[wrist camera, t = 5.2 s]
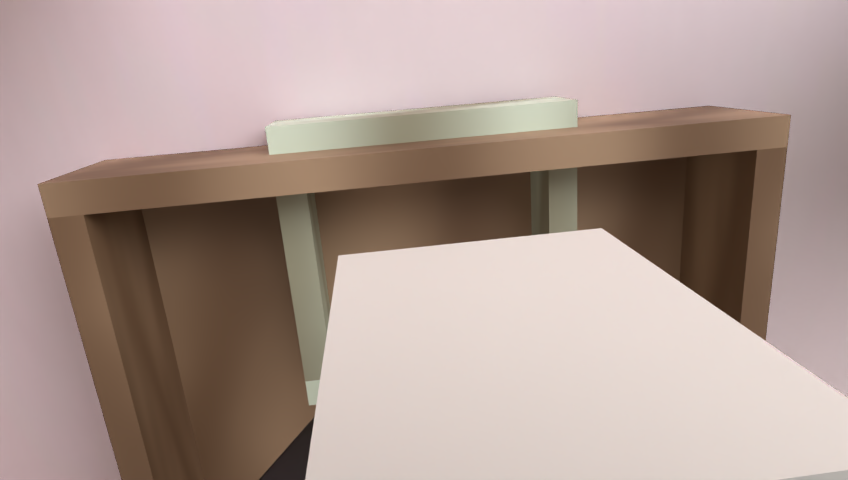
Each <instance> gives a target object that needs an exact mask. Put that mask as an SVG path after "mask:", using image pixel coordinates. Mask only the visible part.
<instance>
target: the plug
mask: <svg viewBox="0 0 848 480" xmlns="http://www.w3.org/2000/svg"><path fill="white" fill-rule="evenodd" d="M305 480H848V397H846V396H845V395H843V394H842V393H841V392H839V391H838V390H836V389H835V388H833V387H832V386H830V385H829V384H827V383H826V382H825V381H823V380H822V379H820V378H819V377H817V376H816V375H814V374H813V373H811V372H810V371H809V370H807V369H806V368H804V367H803V366H801V365H800V364H798V363H797V362H795V361H794V360H793V359H791V358H790V357H788V356H787V355H785V354H784V353H782V352H781V351H779V350H778V349H777V348H775V347H774V346H772V345H771V344H769V343H768V342H766V341H765V340H763V339H762V338H761V337H759V336H758V335H756V334H755V333H753V332H752V331H750V330H749V329H747V328H746V327H745V326H743V325H742V324H740V323H739V322H737V321H736V320H734V319H733V318H731V317H730V316H729V315H727V314H726V313H724V312H723V311H721V310H720V309H718V308H717V307H715V306H714V305H713V304H711V303H710V302H708V301H707V300H705V299H704V298H702V297H701V296H699V295H698V294H697V293H695V292H694V291H692V290H691V289H689V288H688V287H686V286H685V285H684V284H682V283H681V282H679V281H678V280H676V279H675V278H673V277H672V276H670V275H669V274H668V273H666V272H665V271H663V270H662V269H660V268H659V267H657V266H656V265H654V264H653V263H652V262H650V261H649V260H647V259H646V258H644V257H643V256H641V255H640V254H638V253H637V252H636V251H634V250H633V249H631V248H630V247H628V246H627V245H625V244H624V243H622V242H621V241H620V240H618V239H617V238H615V237H614V236H612V235H611V234H609V233H608V232H606V231H605V230H604V229H602V228H598V229H588V230H579V231H569V232H560V233H550V234H540V235H531V236H521V237H512V238H502V239H492V240H483V241H473V242H464V243H454V244H444V245H435V246H425V247H416V248H406V249H396V250H387V251H377V252H367V253H358V254H348V255H339V256H338V261H337V268H336V275H335V281H334V288H333V295H332V302H331V309H330V315H329V322H328V329H327V336H326V342H325V349H324V356H323V363H322V369H321V376H320V383H319V390H318V397H317V403H316V410H315V417H314V424H313V430H312V437H311V444H310V451H309V457H308V464H307V471H306V478H305Z"/></svg>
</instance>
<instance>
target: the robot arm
mask: <svg viewBox="0 0 848 480" xmlns="http://www.w3.org/2000/svg"><path fill="white" fill-rule="evenodd" d="M314 417H315V416H314ZM314 417H313V419H312V420H311V421H310V422H309V423H308V424H307V425H306V427H305V428H304V429H303V430H302V431H301V432H300V433H299V434H298V436H297V437H296V438H295V439H294V440H293V441H292V442H291V444H290V445H289V446H288V447H287V448H286V449H285V450H284V451H283V453H282V454H281V455H280V456H279V457H278V458H277V459H276V461H275V462H274V463H273V464H272V465H271V466H270V467H269V468H268V470H267V471H266V472H265V473H264V474H263V475H262V476H261V478H260V479H259V480H305V478H306V471H307V464H308V457H309V451H310V444H311V437H312V430H313V424H314Z"/></svg>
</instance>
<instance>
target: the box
mask: <svg viewBox="0 0 848 480" xmlns="http://www.w3.org/2000/svg"><path fill="white" fill-rule="evenodd" d="M577 115H578V100H575V99H568V98H562V97H545V98H533V99H522V100H510V101H499V102H487V103H476V104H464V105H453V106H441V107H430V108H418V109H406V110H395V111H383V112H372V113H360V114H349V115H337V116H326V117H314V118H303V119H291V120H280V121H274V122H273V123H271V124H270V125H268V126H266V127H265V131H266V137H267V143H268V146H257V147H246V148H235V149H223V150H212V151H201V152H190V153H179V154H168V155H157V156H146V157H134V158H123V159H112V160H104V161H101V162H98V163H96V164H93V165H90V166H87V167H84V168H82V169H79V170H76V171H73V172H70V173H68V174H65V175H62V176H59V177H56V178H54V179H51V180H48V181H45V182H42V183H40V184H38V188H39V191H40V195H41V198H42V202H43V205H44V209H45V212H46V216H47V219H48V223H49V226H50V230H51V233H52V237H53V240H54V244H55V247H56V251H57V254H58V258H59V261H60V265H61V268H62V272H63V275H64V279H65V282H66V286H67V289H68V293H69V296H70V300H71V303H72V307H73V310H74V314H75V318H76V321H77V325H78V328H79V332H80V335H81V339H82V342H83V346H84V349H85V353H86V356H87V360H88V363H89V367H90V370H91V374H92V377H93V381H94V384H95V388H96V391H97V395H98V398H99V402H100V405H101V409H102V412H103V416H104V419H105V423H106V426H107V430H108V433H109V437H110V440H111V444H112V447H113V451H114V455H115V458H116V462H117V465H118V469H119V472H120V476H121V479H122V480H259V479H260V478H261V476H262V475H263V474H264V473H265V472H266V471H267V470H268V468H269V467H270V466H271V465H272V464H273V463H274V462H275V461H276V459H277V458H278V457H279V456H280V455H281V454H282V453H283V451H284V450H285V449H286V448H287V447H288V446H289V445H290V444H291V442H292V441H293V440H294V439H295V438H296V437H297V436H298V434H299V433H300V432H301V431H302V430H303V429H304V428H305V427H306V425H307V424H308V423H309V422H310V421H311V420H312V419H313V417H314V416H315V410H316V403H317V397H318V390H319V383H320V376H321V369H322V363H323V356H324V349H325V342H326V336H327V329H328V322H329V315H330V309H331V302H332V295H333V288H334V281H335V275H336V268H337V261H338V256H339V255H348V254H358V253H367V252H377V251H387V250H396V249H406V248H416V247H425V246H435V245H444V244H454V243H464V242H473V241H483V240H492V239H502V238H512V237H521V236H531V235H540V234H550V233H560V232H569V231H579V230H588V229H598V228H602V229H604V230H605V231H606V232H608V233H609V234H611V235H612V236H614V237H615V238H617V239H618V240H620V241H621V242H622V243H624V244H625V245H627V246H628V247H630V248H631V249H633V250H634V251H636V252H637V253H638V254H640V255H641V256H643V257H644V258H646V259H647V260H649V261H650V262H652V263H653V264H654V265H656V266H657V267H659V268H660V269H662V270H663V271H665V272H666V273H668V274H669V275H670V276H672V277H673V278H675V279H676V280H678V281H679V282H681V283H682V284H684V285H685V286H686V287H688V288H689V289H691V290H692V291H694V292H695V293H697V294H698V295H699V296H701V297H702V298H704V299H705V300H707V301H708V302H710V303H711V304H713V305H714V306H715V307H717V308H718V309H720V310H721V311H723V312H724V313H726V314H727V315H729V316H730V317H731V318H733V319H734V320H736V321H737V322H739V323H740V324H742V325H743V326H745V327H746V328H747V329H749V330H750V331H752V332H753V333H755V334H756V335H758V336H759V337H761V338H762V339H763V340H766V331H767V322H768V313H769V304H770V295H771V287H772V278H773V269H774V260H775V251H776V242H777V234H778V225H779V216H780V207H781V198H782V189H783V180H784V172H785V163H786V154H787V145H788V136H789V127H790V119H791V115H788V114H778V113H769V112H760V111H751V110H742V109H733V108H724V107H715V106H702V107H691V108H680V109H669V110H658V111H647V112H635V113H624V114H613V115H602V116H591V117H580V118H577Z"/></svg>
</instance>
